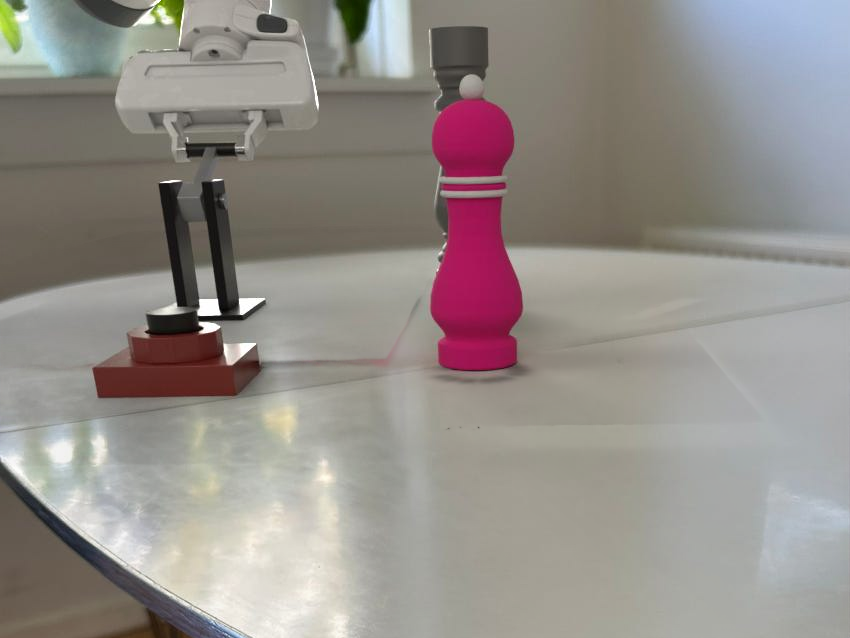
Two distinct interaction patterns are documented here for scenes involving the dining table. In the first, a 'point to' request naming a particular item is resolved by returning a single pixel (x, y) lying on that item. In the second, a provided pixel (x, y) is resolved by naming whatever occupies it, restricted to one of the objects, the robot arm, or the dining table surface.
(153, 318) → the black push button
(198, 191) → the tap lever
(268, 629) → the dining table surface
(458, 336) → the pepper mill
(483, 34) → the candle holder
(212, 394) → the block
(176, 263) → the bracket
